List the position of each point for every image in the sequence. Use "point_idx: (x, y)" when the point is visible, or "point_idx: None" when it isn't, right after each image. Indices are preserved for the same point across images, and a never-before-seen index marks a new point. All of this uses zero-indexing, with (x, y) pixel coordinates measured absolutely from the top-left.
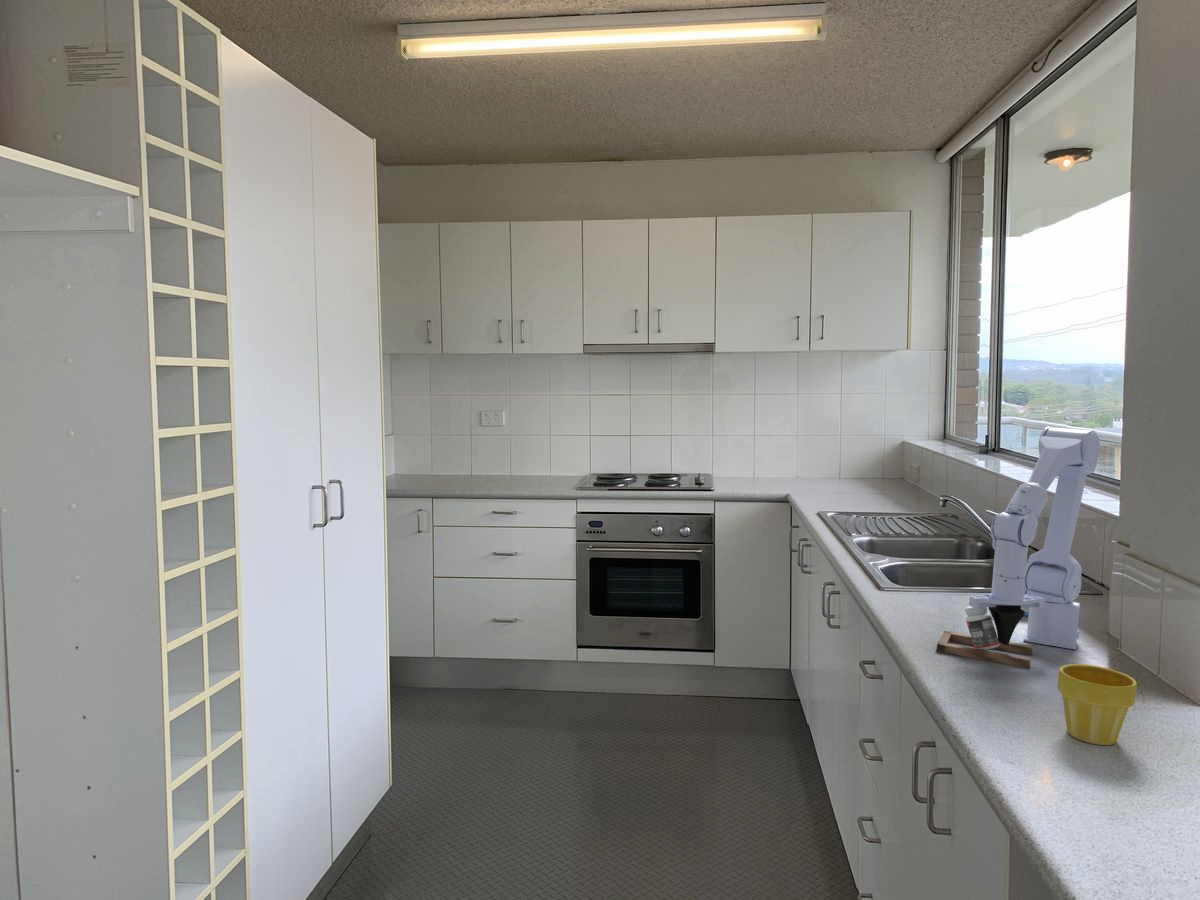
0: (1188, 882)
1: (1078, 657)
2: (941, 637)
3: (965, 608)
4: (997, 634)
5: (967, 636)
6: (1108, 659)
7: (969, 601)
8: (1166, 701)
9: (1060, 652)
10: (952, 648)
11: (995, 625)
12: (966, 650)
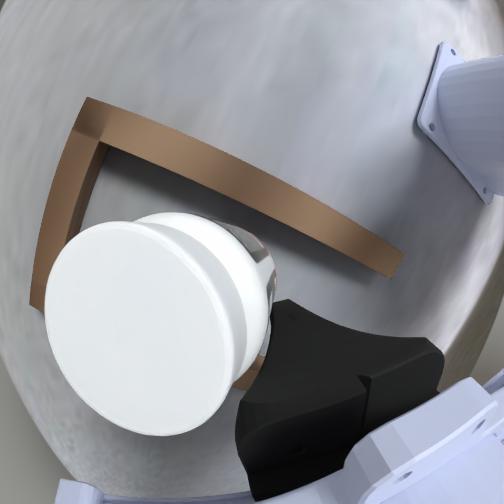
0: None
1: (466, 259)
2: (45, 214)
3: (46, 324)
4: (271, 316)
5: (166, 165)
6: (497, 259)
7: (57, 502)
8: None
9: (456, 223)
10: None
11: (269, 341)
12: None
